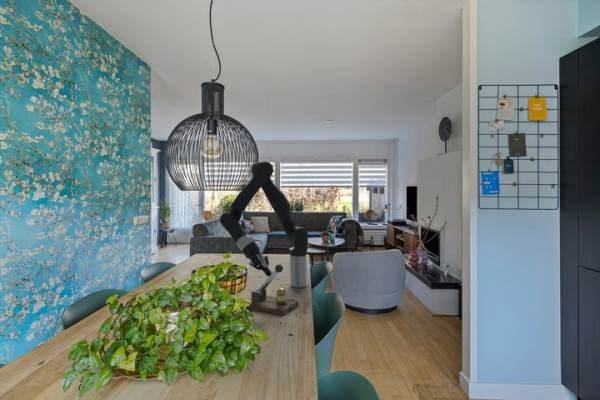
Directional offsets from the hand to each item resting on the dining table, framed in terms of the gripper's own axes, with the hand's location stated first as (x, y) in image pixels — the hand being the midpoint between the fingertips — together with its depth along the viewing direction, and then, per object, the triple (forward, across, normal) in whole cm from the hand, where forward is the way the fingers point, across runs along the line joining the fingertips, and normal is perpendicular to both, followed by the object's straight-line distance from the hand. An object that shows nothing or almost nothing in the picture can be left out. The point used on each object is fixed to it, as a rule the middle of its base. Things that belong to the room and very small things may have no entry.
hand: (269, 274), depth 142 cm
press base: (+10, 0, +10) cm, 14 cm away
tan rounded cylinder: (+13, 0, +5) cm, 14 cm away
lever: (+2, 0, +12) cm, 12 cm away
